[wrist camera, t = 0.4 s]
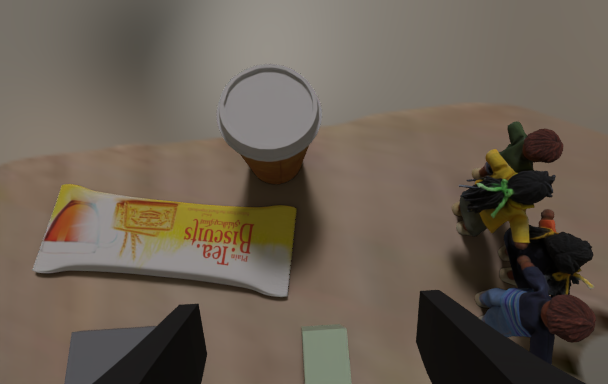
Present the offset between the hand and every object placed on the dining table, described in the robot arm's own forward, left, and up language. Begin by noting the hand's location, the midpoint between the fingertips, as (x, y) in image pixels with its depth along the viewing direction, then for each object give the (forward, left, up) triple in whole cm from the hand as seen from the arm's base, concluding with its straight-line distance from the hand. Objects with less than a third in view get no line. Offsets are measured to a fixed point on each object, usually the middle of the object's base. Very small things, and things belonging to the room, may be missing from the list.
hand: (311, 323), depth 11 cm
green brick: (-6, -2, -26) cm, 26 cm away
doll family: (+5, -21, -26) cm, 34 cm away
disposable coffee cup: (+17, +2, -26) cm, 31 cm away
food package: (+8, +14, -26) cm, 31 cm away
